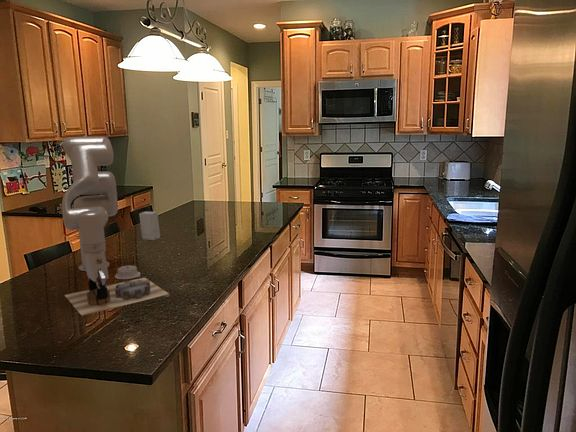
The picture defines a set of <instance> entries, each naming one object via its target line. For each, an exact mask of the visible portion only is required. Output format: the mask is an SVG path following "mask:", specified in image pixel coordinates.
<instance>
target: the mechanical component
mask: <svg viewBox="0 0 576 432" xmlns="http://www.w3.org/2000/svg"><path fill="white" fill-rule="evenodd" d="M114 278H115V279H117V280H118V279H119V280H128V279H129V280H130V279H135V278H137V279H140V278H141V272H140V271H138V267H137V266H136V265H130V264H129V265H122V266H119V268H117V273H116V274H115V275H114Z"/></svg>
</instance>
